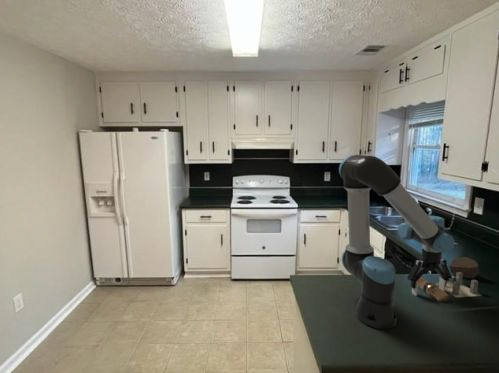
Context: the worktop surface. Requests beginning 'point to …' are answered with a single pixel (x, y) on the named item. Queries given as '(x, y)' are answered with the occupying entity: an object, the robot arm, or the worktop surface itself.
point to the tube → (432, 290)
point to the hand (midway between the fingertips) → (428, 293)
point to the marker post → (452, 279)
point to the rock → (464, 267)
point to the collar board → (461, 287)
